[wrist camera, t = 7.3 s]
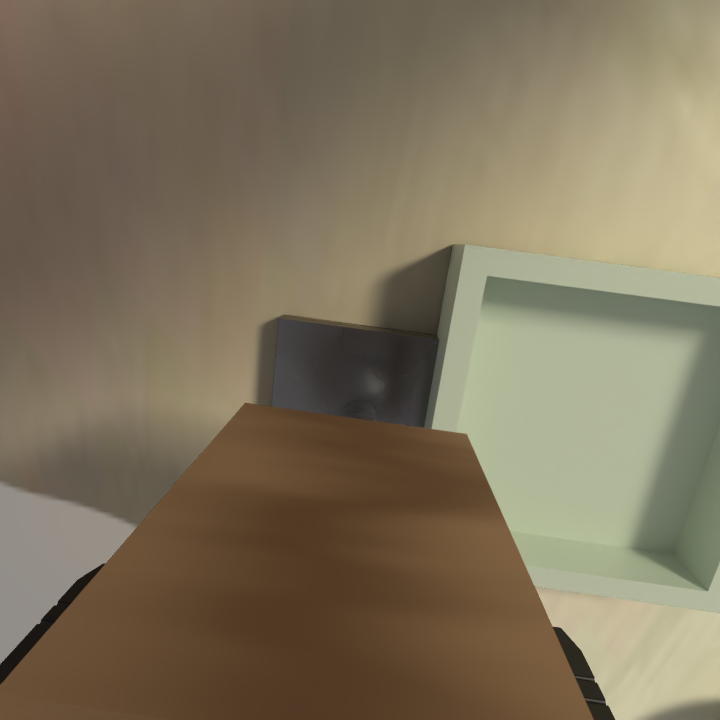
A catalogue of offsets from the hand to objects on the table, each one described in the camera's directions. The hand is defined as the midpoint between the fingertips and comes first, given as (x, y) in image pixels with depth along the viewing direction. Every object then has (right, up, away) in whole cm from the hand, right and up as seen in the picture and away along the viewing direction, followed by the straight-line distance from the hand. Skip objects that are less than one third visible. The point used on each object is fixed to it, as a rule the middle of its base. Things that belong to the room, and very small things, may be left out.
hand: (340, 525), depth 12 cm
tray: (+11, +2, +8) cm, 14 cm away
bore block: (0, 0, 0) cm, 0 cm away
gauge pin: (+1, +2, +9) cm, 9 cm away
